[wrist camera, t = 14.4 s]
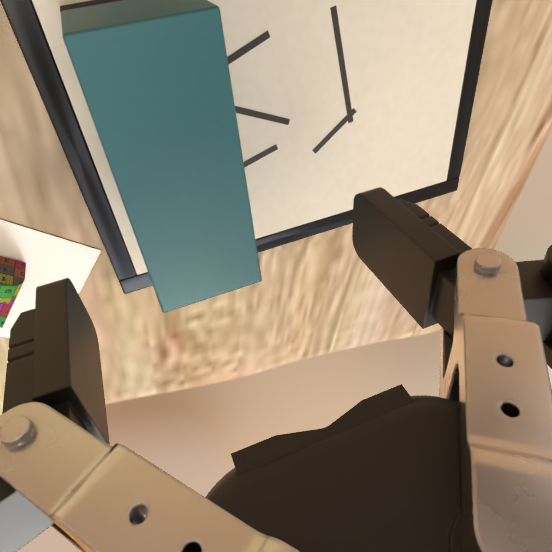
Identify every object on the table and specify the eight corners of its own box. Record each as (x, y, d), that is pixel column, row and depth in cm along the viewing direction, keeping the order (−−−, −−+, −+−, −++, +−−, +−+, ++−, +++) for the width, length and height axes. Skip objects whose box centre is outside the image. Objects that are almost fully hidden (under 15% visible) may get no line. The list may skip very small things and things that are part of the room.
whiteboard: (-31, -85, 15) (-37, -85, 14) (500, -148, 20) (521, -150, 19) (121, 282, 26) (124, 294, 25) (445, 182, 31) (457, 190, 30)
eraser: (59, 5, 17) (61, 33, 13) (181, -15, 18) (220, 5, 14) (144, 245, 24) (163, 314, 20) (227, 221, 25) (262, 281, 21)
